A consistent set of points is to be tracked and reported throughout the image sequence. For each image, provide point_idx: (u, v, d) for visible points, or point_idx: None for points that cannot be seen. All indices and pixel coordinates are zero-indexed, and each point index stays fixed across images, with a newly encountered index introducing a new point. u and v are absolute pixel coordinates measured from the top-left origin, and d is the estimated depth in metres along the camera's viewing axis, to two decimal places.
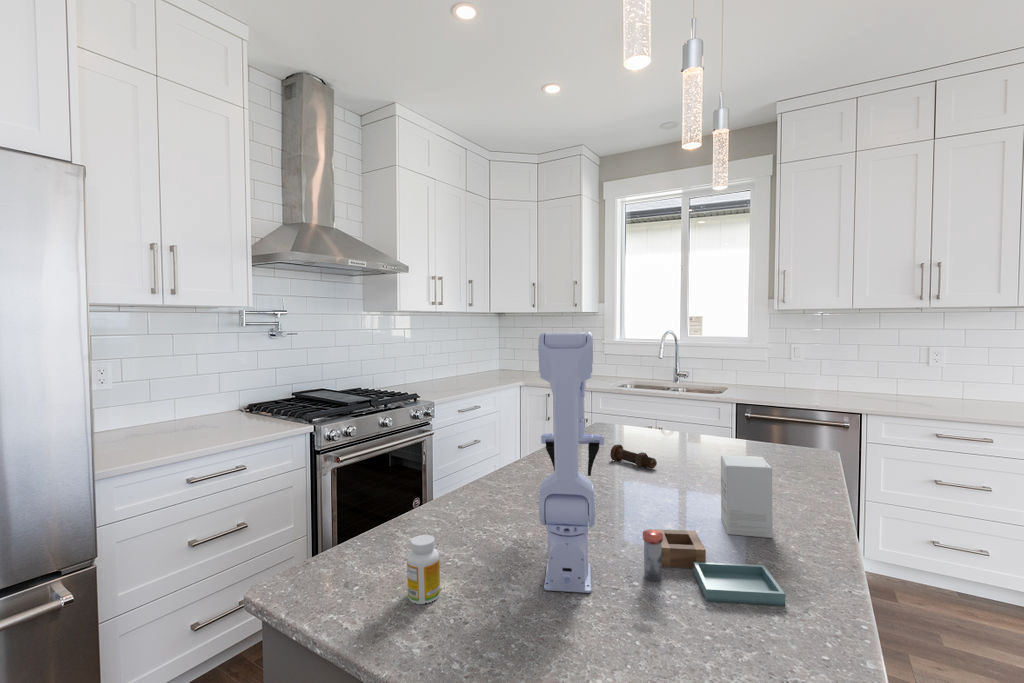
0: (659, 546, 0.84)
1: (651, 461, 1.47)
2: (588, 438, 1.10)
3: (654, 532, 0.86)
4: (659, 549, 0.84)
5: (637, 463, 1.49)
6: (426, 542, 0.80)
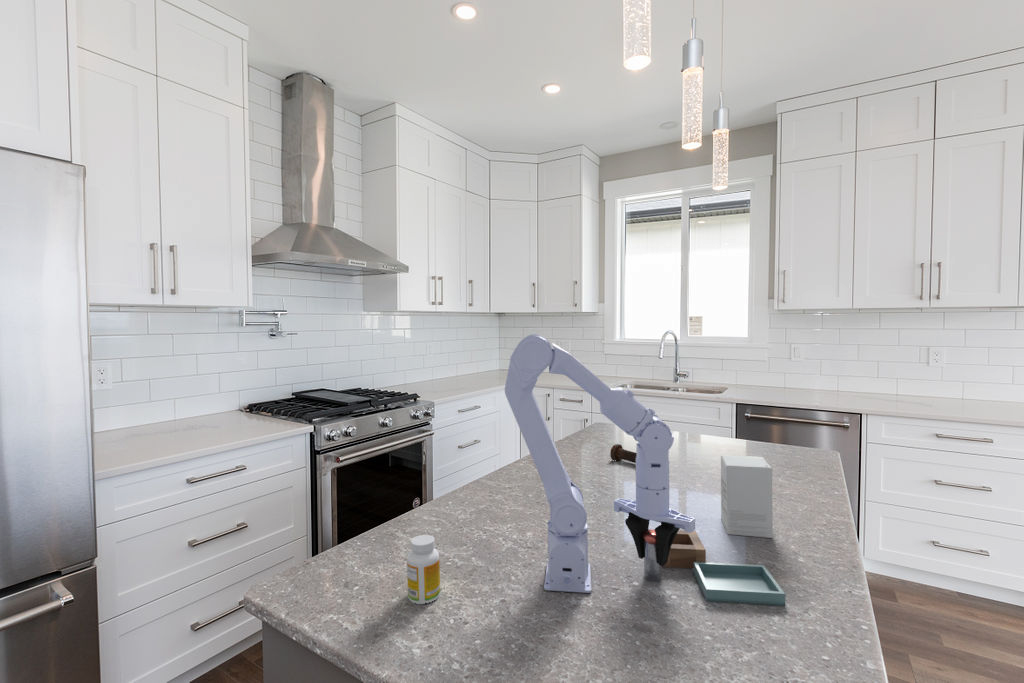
0: None
1: None
2: (667, 519, 0.81)
3: (654, 532, 0.86)
4: None
5: None
6: (426, 542, 0.80)
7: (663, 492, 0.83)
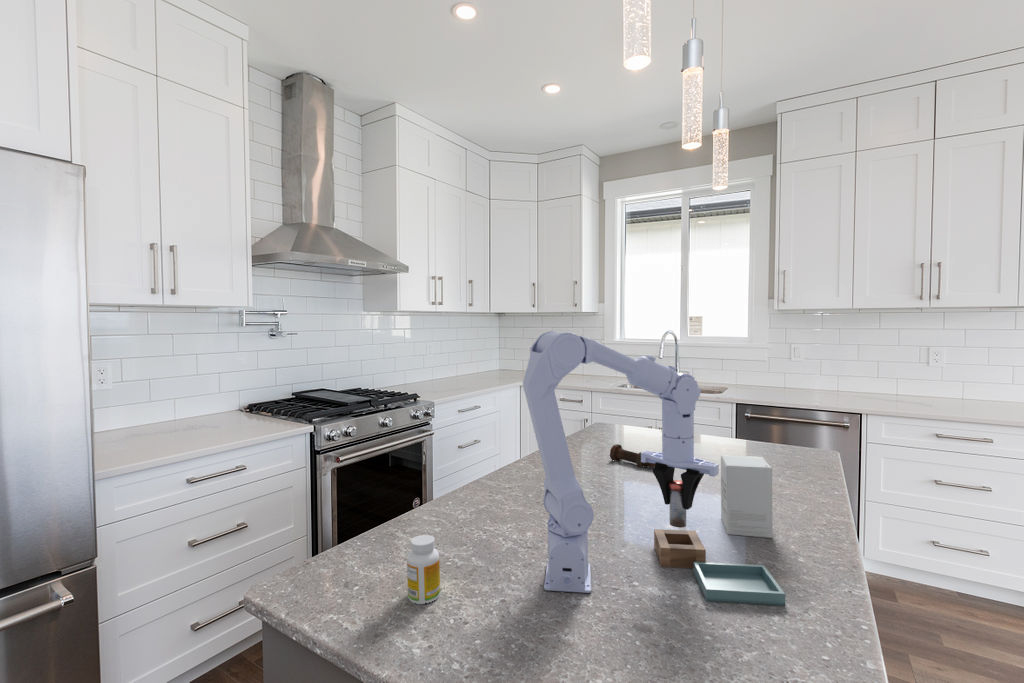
0: None
1: None
2: (693, 465, 0.88)
3: (679, 482, 0.93)
4: None
5: (638, 463, 1.50)
6: (426, 542, 0.80)
7: (688, 441, 0.89)
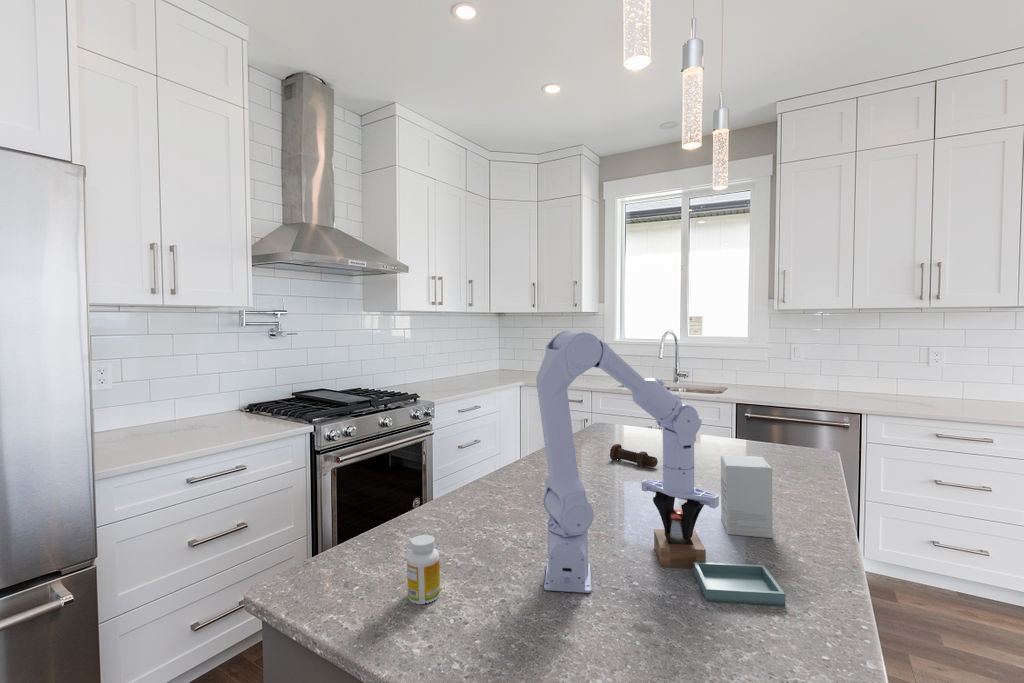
0: None
1: (653, 460, 1.48)
2: (693, 496, 0.89)
3: (680, 511, 0.93)
4: None
5: (638, 462, 1.50)
6: (426, 542, 0.80)
7: (689, 471, 0.90)
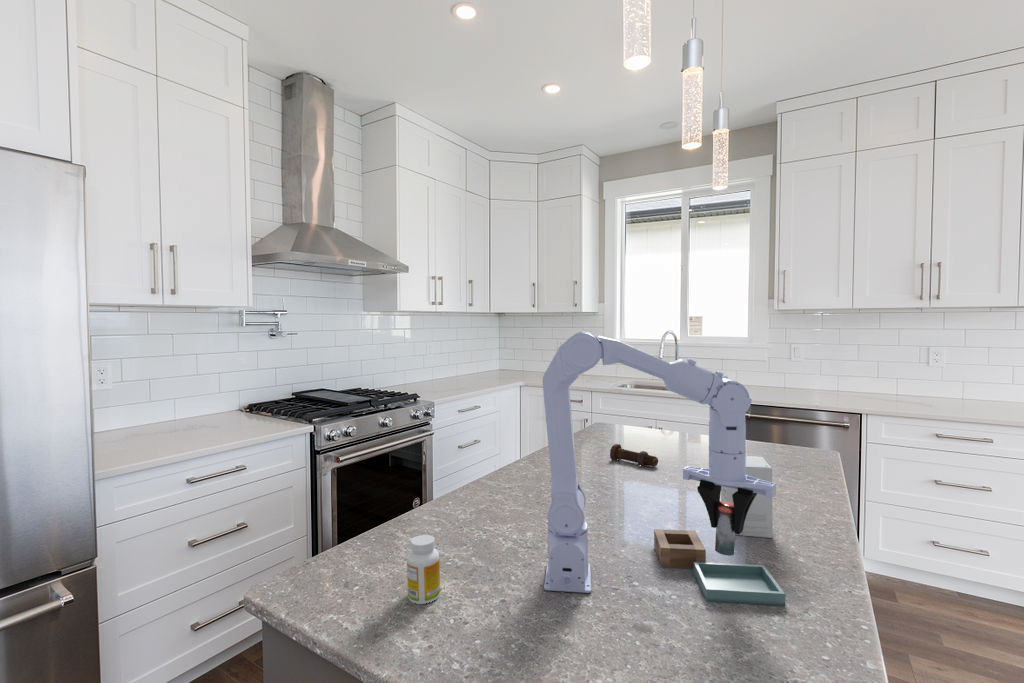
0: None
1: (653, 459, 1.48)
2: (746, 484, 0.78)
3: (729, 504, 0.82)
4: None
5: (639, 462, 1.50)
6: (426, 543, 0.80)
7: (741, 456, 0.79)
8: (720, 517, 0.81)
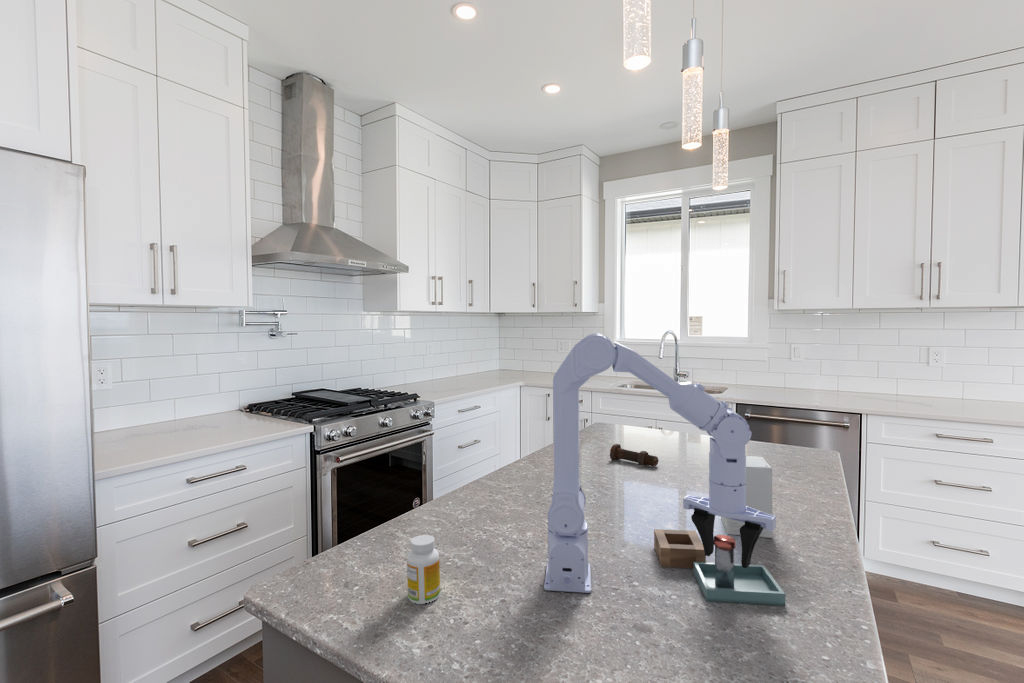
0: (733, 552, 0.81)
1: (654, 459, 1.49)
2: (747, 517, 0.78)
3: (726, 538, 0.82)
4: (732, 555, 0.81)
5: (639, 462, 1.51)
6: (426, 542, 0.80)
7: (741, 488, 0.79)
8: (718, 552, 0.81)
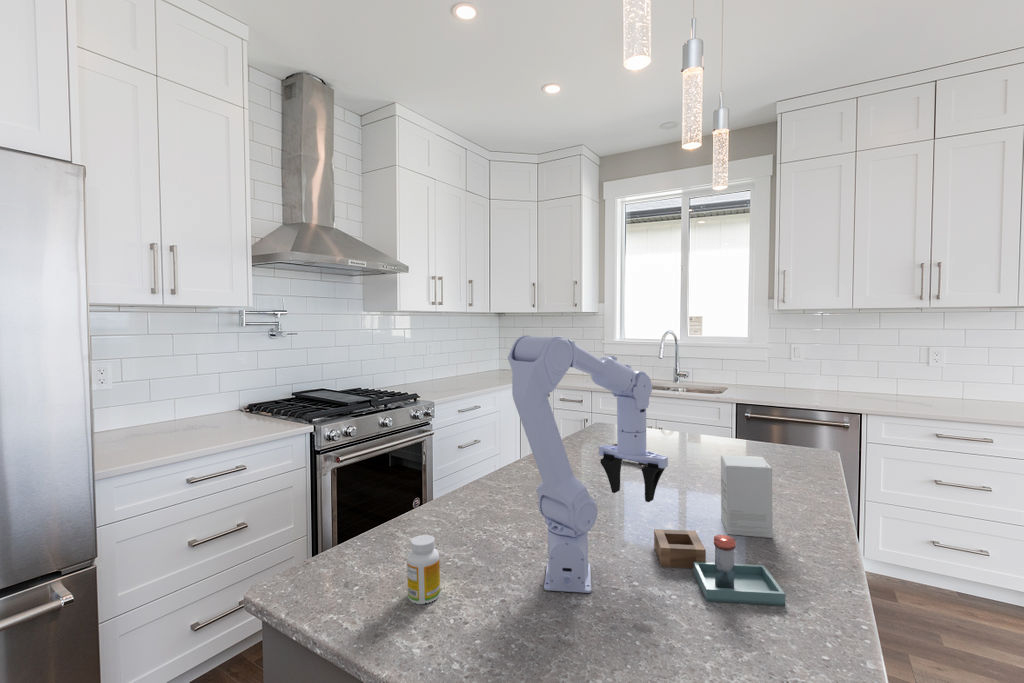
0: (733, 552, 0.81)
1: None
2: (644, 457, 0.94)
3: (726, 538, 0.82)
4: (733, 555, 0.81)
5: None
6: (426, 542, 0.80)
7: (640, 435, 0.95)
8: (718, 552, 0.81)
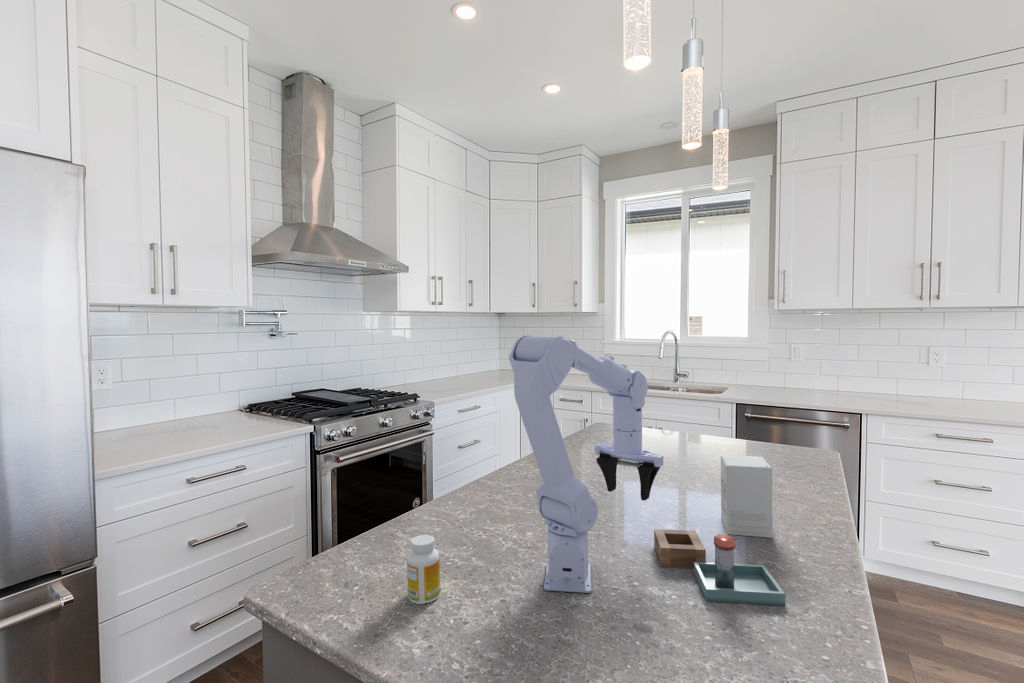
0: (733, 552, 0.81)
1: None
2: (640, 456, 0.94)
3: (726, 538, 0.82)
4: (733, 555, 0.81)
5: None
6: (426, 542, 0.80)
7: (636, 434, 0.96)
8: (718, 552, 0.81)
